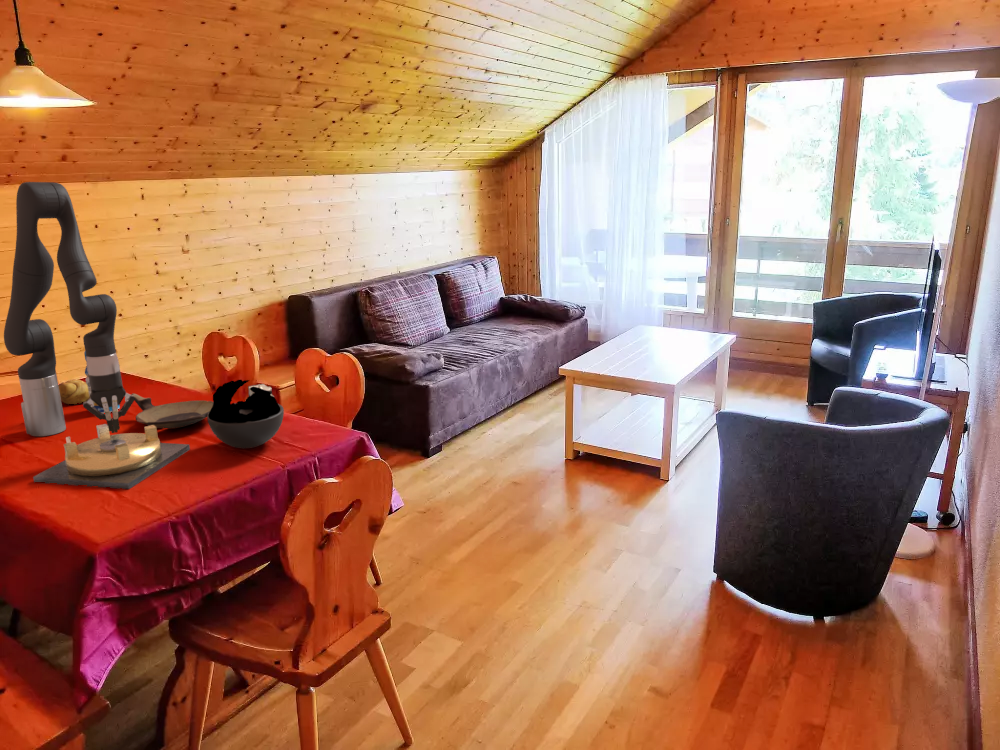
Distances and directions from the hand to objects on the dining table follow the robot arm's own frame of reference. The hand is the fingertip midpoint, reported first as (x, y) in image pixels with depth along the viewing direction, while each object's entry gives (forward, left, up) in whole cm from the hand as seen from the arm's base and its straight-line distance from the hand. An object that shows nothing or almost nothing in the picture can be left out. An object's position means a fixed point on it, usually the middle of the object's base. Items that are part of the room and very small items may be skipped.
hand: (114, 431), depth 199 cm
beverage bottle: (-28, +32, -6) cm, 43 cm away
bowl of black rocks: (+33, +10, -6) cm, 35 cm away
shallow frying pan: (+1, +25, -6) cm, 26 cm away
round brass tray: (+5, -8, -4) cm, 11 cm away
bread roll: (-45, +40, -6) cm, 60 cm away
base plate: (+5, -8, -6) cm, 12 cm away
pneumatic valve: (+28, +29, -6) cm, 41 cm away
